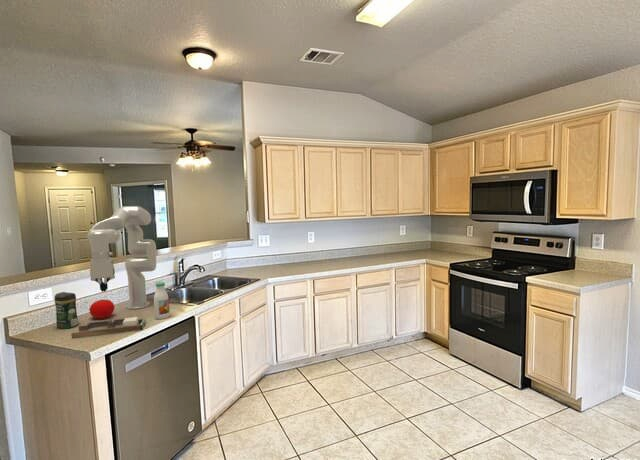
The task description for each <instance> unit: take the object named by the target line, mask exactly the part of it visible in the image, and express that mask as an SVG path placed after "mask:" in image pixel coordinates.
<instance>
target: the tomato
mask: <svg viewBox="0 0 640 460" xmlns="http://www.w3.org/2000/svg"><path fill="white" fill-rule="evenodd" d="M88 310H89V311H88V312H89V314H90V316H91V317H93V318H94V319H100V320H101V319H105V318H108V317H110V316H112V314H113V313H114V311H115V304H114V302H113V301H112V300H109V299H98V300H95V301H94V302H92V303H91V305H90V306H89V309H88Z"/></svg>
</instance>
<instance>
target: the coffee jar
mask: <svg viewBox="0 0 640 460" xmlns="http://www.w3.org/2000/svg"><path fill="white" fill-rule="evenodd" d="M53 302H54V305H55V313H56V314H55V315H56V317H55V318H56V319H55V320H56V323H55V324H56V327H57V328H59V329H72V328H75V327H76V326H77V325H79V320H78V313H77V303H76V302H77V295H76V293H73V292H65V291H61V292H57V293H55V295H54V301H53Z"/></svg>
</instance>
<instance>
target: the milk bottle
mask: <svg viewBox="0 0 640 460" xmlns="http://www.w3.org/2000/svg"><path fill="white" fill-rule="evenodd" d="M165 285H166V284H165V282H164V281H159V282H155V287H156V289H155V293H154V296H153V310H154V311H153V313H154V319H156V320H165V319H167V318H169V317H170V304H169V303H170V302H169V294H168V293H167V290H166V288H165Z"/></svg>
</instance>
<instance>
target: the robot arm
mask: <svg viewBox="0 0 640 460" xmlns="http://www.w3.org/2000/svg"><path fill="white" fill-rule="evenodd" d="M151 222H152V215H151V214H150V212H149V211H148V210H147V209H145V208H143V207H141V206H139V205H130V206H129V205H128V206H127V205H125V206H120V207H118V208H117V209H116V210H115V212H114V213H113V214H112V215H111V217H108V218H106V219H104V220H102V221H101V220H100V221H99V222H96V223H95V224H94V225H93V226H92V227H91V228H90V229H89V231H88V233H87V237H86V239H87V241H88V242H89V243H90V248H91V259H90V261H89V264H90V265H89V275H90V281H92V282H96V283H97V284H98V285H99V290H100V292H101V293H103V292H106V291H107V290H108V289H109V288H108V283H109V282H110V280H114V279H115V278H116V275H115V272H116V271H115V266H114V261H113V257H111V256H113V255H114V254H113V252H111V251H110V247H109V244H115V243H117V242H118V241H119V240H120V235H121V234H120V232H119V231H121V230H123V229H124V228H125V230H126V231H127V251H128V253H129V254H130V255H133V257H132V256H131V257H128V258H127V259H126V260H125V262H124V265H125V270H126V273H127V274H126V275H127V282H128V298H129V300H128V301H129V304H127V305H126V308H127V309H128V310H139V309H144V308H147V307H148V306H150V302H149V301H148V300H147V287H146V277H145V275H144V274H143V273H144V272H145V273H146V272H147V273H148V272H154V271H155V270H156V268H157V246H156V245H157V244H156V242H155V240H154V239H149V238H145V239H144V231H143V229H142V228H141V227H140V226H148V225H149V224H151ZM137 255H139V256H137ZM140 255H142V256H140ZM143 255H146V256H143Z"/></svg>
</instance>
